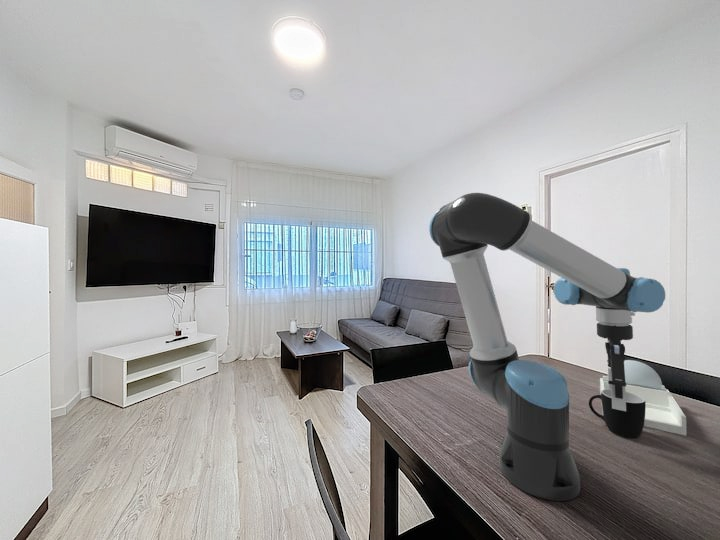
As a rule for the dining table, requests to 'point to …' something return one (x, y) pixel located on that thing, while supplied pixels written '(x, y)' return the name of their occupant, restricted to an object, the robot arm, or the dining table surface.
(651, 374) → the plate in rack
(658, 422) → the dish rack
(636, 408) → the mug
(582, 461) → the dining table surface
